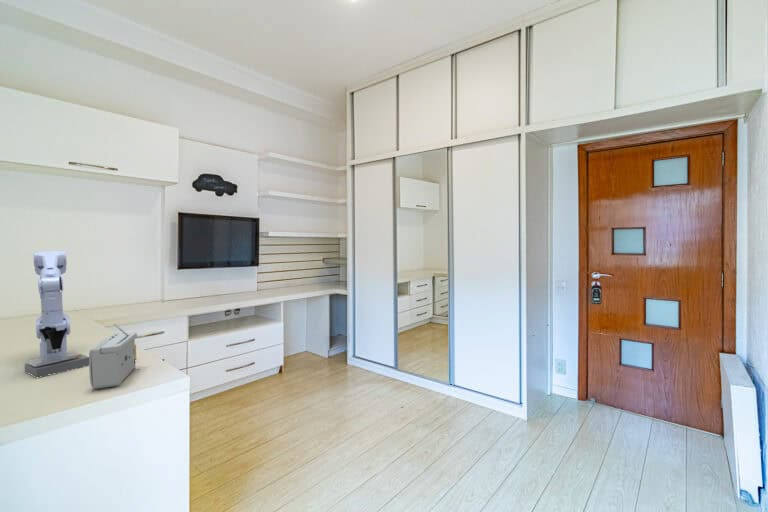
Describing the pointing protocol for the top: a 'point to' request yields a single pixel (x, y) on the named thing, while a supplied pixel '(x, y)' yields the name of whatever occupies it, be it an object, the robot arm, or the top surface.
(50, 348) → the cylinder
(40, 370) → the base
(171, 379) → the top surface
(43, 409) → the top surface
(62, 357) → the pan
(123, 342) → the stereo radio cassette player
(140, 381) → the top surface
